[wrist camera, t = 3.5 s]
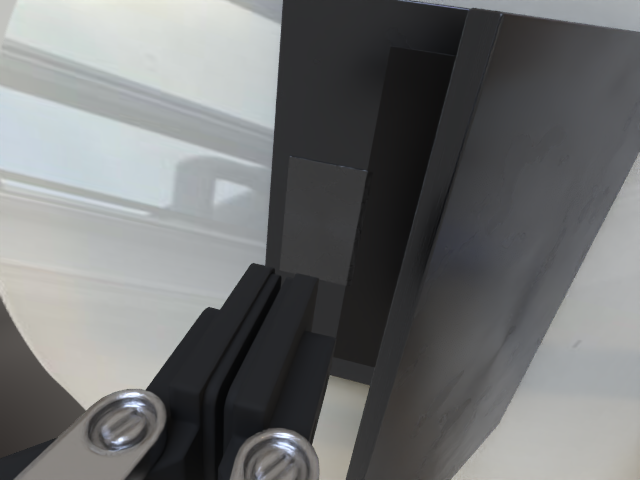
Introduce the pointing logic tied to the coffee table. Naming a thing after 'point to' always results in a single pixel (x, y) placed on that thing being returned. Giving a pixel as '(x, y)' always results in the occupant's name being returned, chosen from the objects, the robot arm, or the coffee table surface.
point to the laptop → (355, 155)
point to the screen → (497, 232)
